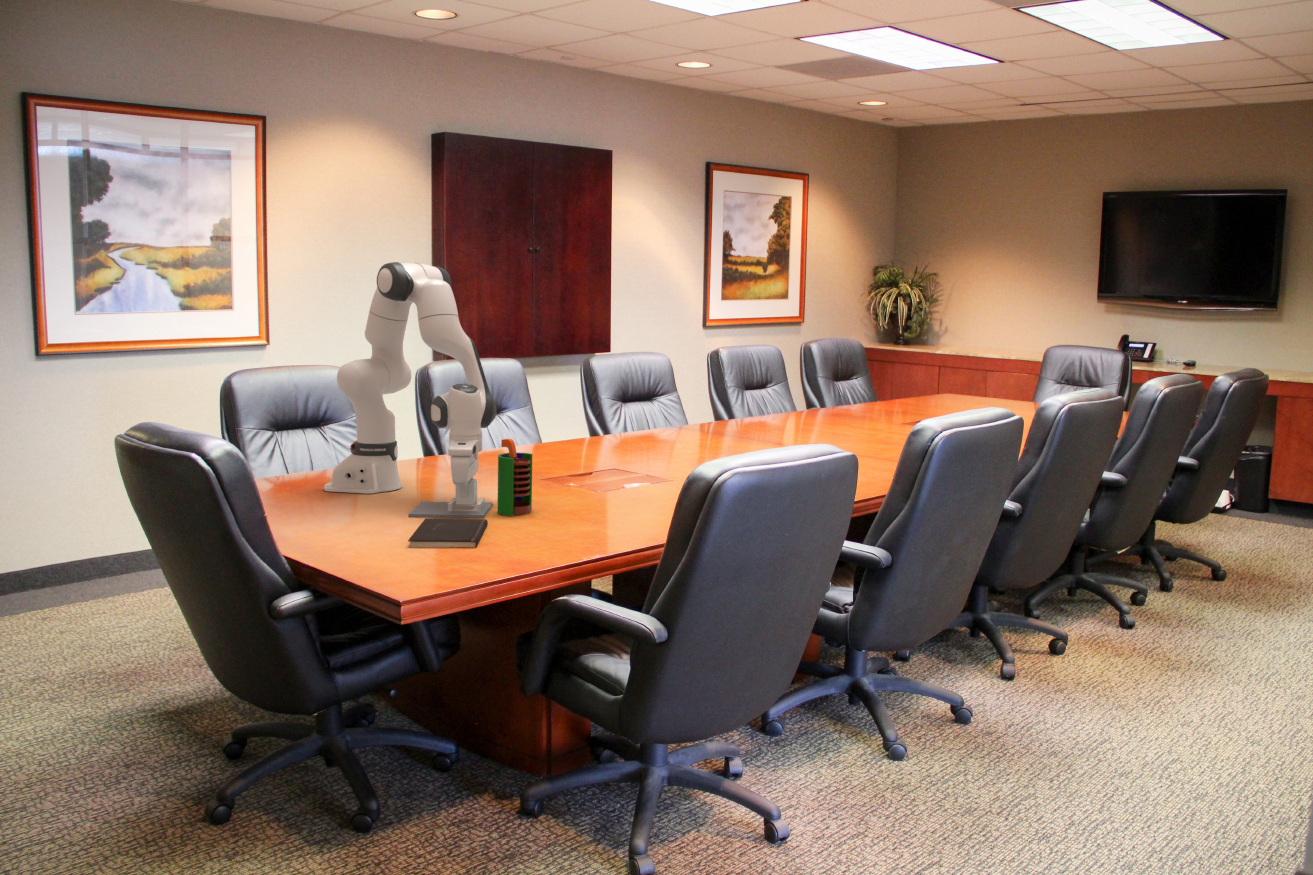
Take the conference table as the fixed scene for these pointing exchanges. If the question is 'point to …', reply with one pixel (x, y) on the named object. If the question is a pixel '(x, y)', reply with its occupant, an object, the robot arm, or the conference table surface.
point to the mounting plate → (451, 509)
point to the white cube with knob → (471, 493)
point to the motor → (514, 481)
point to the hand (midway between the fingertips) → (466, 494)
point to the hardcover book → (448, 533)
